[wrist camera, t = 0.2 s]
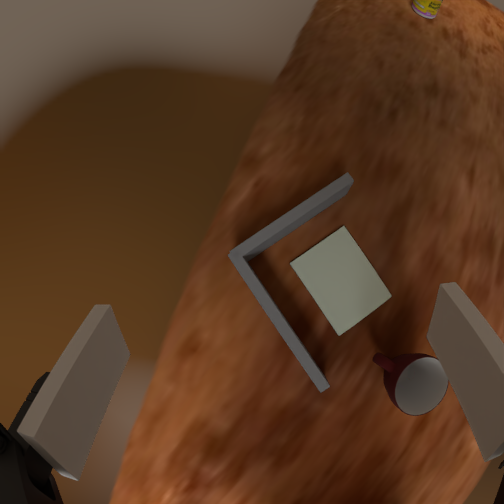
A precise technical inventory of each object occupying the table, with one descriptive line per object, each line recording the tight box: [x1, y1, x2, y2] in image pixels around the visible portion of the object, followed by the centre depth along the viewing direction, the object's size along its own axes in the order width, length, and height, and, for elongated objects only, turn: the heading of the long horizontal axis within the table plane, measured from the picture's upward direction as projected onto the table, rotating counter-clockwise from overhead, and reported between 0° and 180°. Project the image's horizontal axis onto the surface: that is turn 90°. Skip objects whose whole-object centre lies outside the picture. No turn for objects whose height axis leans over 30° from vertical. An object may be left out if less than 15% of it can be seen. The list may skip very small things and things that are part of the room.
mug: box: [373, 353, 449, 416], centre depth 38 cm, size 11×8×10 cm
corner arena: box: [228, 172, 392, 393], centre depth 43 cm, size 22×20×6 cm
